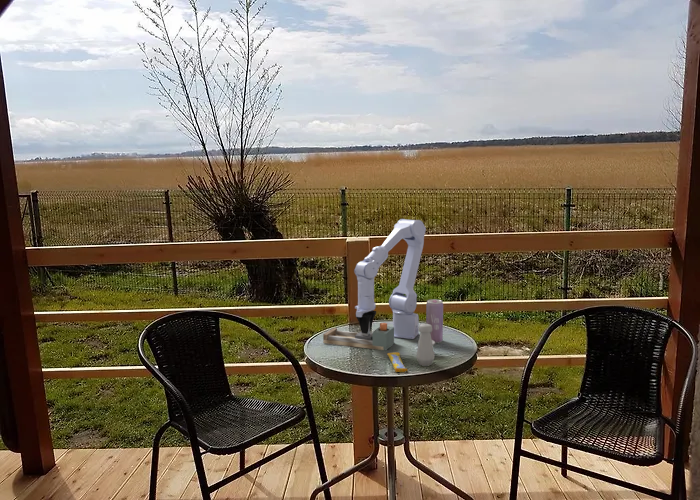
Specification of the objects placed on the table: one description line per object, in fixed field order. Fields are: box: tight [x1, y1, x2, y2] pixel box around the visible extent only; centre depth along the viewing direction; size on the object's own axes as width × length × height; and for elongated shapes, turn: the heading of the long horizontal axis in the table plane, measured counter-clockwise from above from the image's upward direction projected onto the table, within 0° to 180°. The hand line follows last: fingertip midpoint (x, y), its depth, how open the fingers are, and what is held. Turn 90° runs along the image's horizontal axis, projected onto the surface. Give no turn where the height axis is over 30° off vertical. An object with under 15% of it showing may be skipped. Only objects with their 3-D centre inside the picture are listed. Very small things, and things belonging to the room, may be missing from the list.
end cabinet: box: [372, 325, 395, 351], centre depth 185 cm, size 5×9×6 cm, turn 157°
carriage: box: [355, 322, 373, 340], centre depth 188 cm, size 6×5×7 cm
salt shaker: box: [415, 323, 435, 367], centre depth 166 cm, size 6×6×13 cm
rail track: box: [322, 327, 384, 351], centre depth 189 cm, size 23×9×3 cm, turn 68°
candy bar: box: [387, 352, 408, 373], centre depth 167 cm, size 17×4×2 cm, turn 4°
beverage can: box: [425, 298, 444, 344], centre depth 190 cm, size 6×6×15 cm
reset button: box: [379, 322, 388, 331], centre depth 185 cm, size 3×3×2 cm
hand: (366, 332), depth 188 cm, fingers closed on carriage, 2 cm apart
